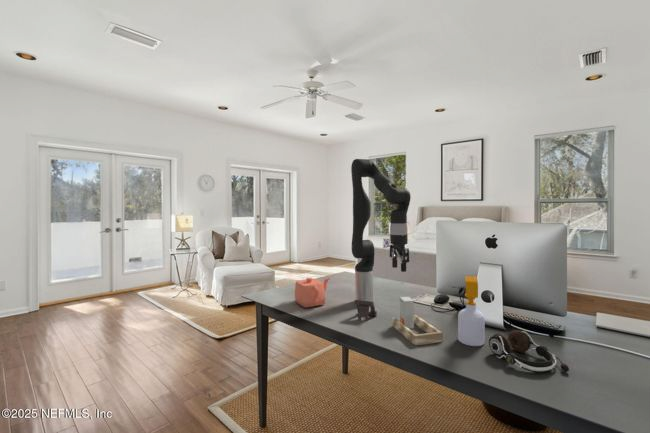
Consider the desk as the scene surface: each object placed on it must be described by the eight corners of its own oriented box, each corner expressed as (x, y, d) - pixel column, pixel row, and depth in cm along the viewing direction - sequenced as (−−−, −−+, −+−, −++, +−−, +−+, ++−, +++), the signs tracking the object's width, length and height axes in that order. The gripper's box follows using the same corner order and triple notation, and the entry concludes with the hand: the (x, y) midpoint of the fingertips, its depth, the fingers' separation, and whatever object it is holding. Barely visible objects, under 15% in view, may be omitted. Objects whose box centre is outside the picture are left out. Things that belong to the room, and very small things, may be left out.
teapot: (340, 305, 166) (339, 278, 165) (305, 311, 157) (304, 284, 156) (323, 295, 184) (322, 271, 183) (291, 300, 175) (290, 275, 174)
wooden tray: (392, 326, 137) (392, 318, 136) (416, 323, 139) (416, 315, 139) (415, 345, 118) (415, 336, 118) (442, 341, 121) (442, 332, 120)
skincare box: (399, 323, 139) (399, 296, 138) (409, 323, 139) (409, 296, 139) (404, 329, 133) (404, 301, 132) (414, 328, 133) (414, 300, 132)
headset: (520, 323, 116) (579, 356, 97) (517, 343, 117) (575, 378, 99) (484, 331, 110) (540, 367, 92) (481, 351, 111) (536, 391, 93)
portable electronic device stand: (377, 315, 149) (376, 298, 149) (372, 321, 142) (372, 303, 142) (359, 313, 153) (359, 296, 152) (353, 319, 146) (353, 301, 145)
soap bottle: (482, 337, 123) (482, 275, 122) (486, 348, 114) (486, 280, 113) (457, 335, 126) (457, 273, 125) (459, 345, 117) (459, 279, 116)
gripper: (384, 232, 147) (384, 267, 148) (398, 235, 133) (398, 273, 134) (399, 231, 149) (399, 265, 149) (414, 234, 135) (414, 272, 136)
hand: (399, 269), depth 142 cm, fingers open, 8 cm apart
